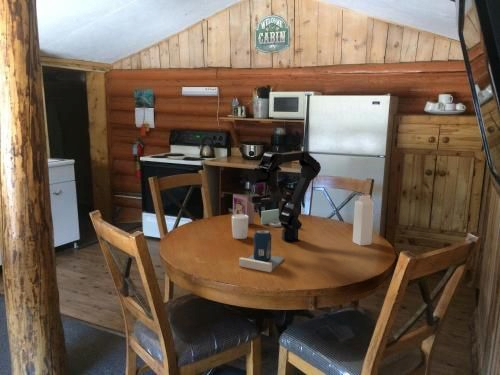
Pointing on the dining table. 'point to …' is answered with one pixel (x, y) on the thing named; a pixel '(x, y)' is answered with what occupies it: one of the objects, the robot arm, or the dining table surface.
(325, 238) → the dining table surface
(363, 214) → the milk
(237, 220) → the white cup
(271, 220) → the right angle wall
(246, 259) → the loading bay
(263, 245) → the soda can
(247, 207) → the pink printed box
